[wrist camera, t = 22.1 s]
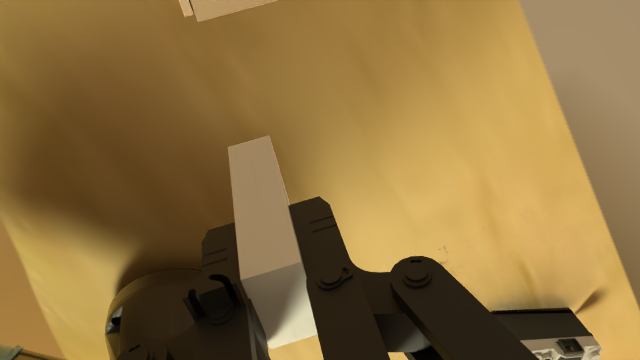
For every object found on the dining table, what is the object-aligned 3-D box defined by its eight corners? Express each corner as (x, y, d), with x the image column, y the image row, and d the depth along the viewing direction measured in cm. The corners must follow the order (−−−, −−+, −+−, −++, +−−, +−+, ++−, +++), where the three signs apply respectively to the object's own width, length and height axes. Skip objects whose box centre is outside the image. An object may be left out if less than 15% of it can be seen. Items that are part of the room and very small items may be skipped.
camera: (466, 346, 75) (499, 405, 67) (485, 306, 71) (522, 365, 63) (553, 340, 79) (594, 396, 71) (576, 302, 75) (622, 357, 67)
